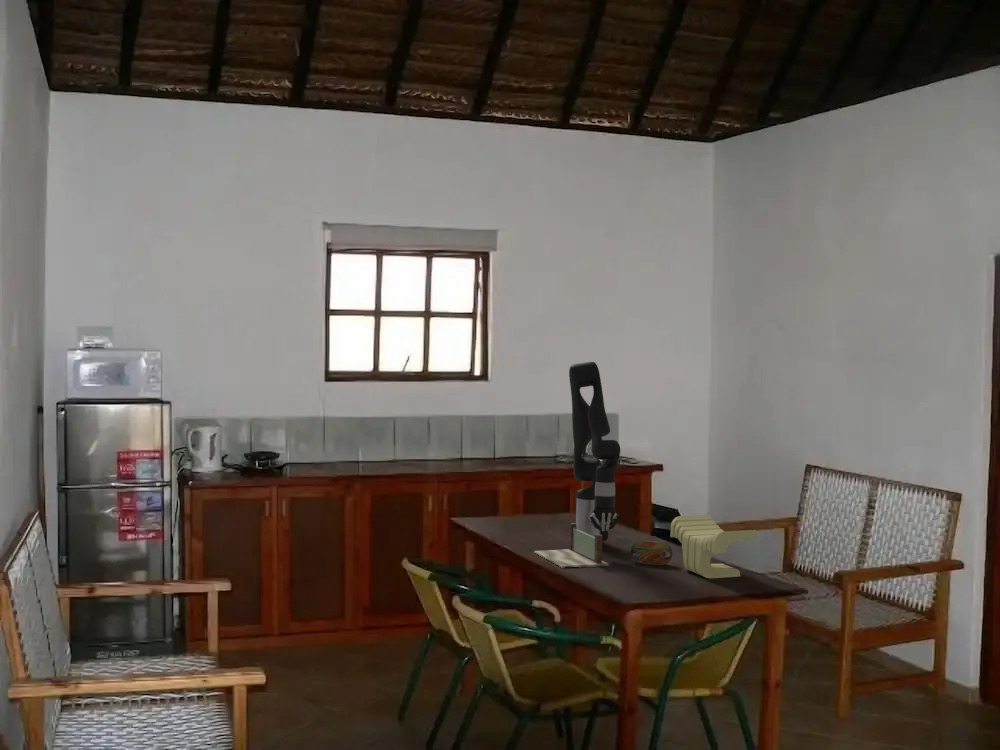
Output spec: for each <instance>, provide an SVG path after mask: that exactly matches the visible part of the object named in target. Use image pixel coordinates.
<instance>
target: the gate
mask: <svg viewBox="0 0 1000 750" xmlns="http://www.w3.org/2000/svg"><path fill="white" fill-rule="evenodd" d="M573 550H574V551H576V552H578V553H580V554H582V555H584V556H586V557H588V558H590V559H592V560H594V552H595V537H594V536H592V535H589V534H587V533H585V532H583V531H581V530H578V529H577V527H573Z"/></svg>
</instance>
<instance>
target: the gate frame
mask: <svg viewBox="0 0 1000 750" xmlns="http://www.w3.org/2000/svg"><path fill="white" fill-rule="evenodd" d="M573 527H576V522H569V527H568V528H569V529H568V530H569V531H568V532H569V533H568V548H567V549H565V548H564V549H548V550H547V549H545V550H534V551H533V553H534V554H535V553H536V554H535V555H537V554H538V555H539V556H538V555H537V556H538V557H540V556H541V558H542V557H543V558H542V559H544V558H545V559H544V560H546V559H547V560H549V561H550V562H549V561H548V562H549V563H551V562H552V563H551V564H553V563H554V564H553V565H555V564H556V565H558V566H559V567H558V566H557V567H558V568H560V567H561V569H566V568H565V567H579V568H592V567H593V568H595V567H608V566H609V563H608V562H606V561H604V560H603V559H602V558H603V541H602V535H600V534H598V535H595V552H594V560H592V559H590V558H588V557H586V556H584V555H582V554H580V553H578V552H576V551H574V550H573ZM547 560H546V561H547ZM556 565H555V566H556Z"/></svg>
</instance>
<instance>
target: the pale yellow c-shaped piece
mask: <svg viewBox="0 0 1000 750" xmlns="http://www.w3.org/2000/svg"><path fill="white" fill-rule="evenodd" d="M669 532H670V538H676V539H678V541H679V542H680V543H681V550H682V558H683V567H684V569H686V570H687V571H689V572H692V573H694V574H696V575H700V576H701V577H703V578H706V579H719V578H721V579H723V578H735V577H737V578H738V577H741V572H740V570H739V569H737V568H734V567H732V566H728V565H726V564H725V563H711V558H712V557H713V554H714V555H720V554H721V555H724V554H726V553H727V550H728V547H729V546H730V545H731V544H733V543H738V542H741V543H742V541H747V540H752V539H756V538H757V529H745V530H724V529H721V527H720V526H719V525H718V524H717V522H716V521H715V520H714V519H713V518H712V516H711V515H710V514H700V515H699V514H697V515H679V516H676V517H674V518H673V520H672V521H671V523H670V531H669Z"/></svg>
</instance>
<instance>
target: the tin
mask: <svg viewBox="0 0 1000 750" xmlns="http://www.w3.org/2000/svg"><path fill="white" fill-rule="evenodd" d="M630 556H631V558H632V560H633V561H634V562H635V563H637V564H639V563H642V564H641V565H650V564H652V565H653V566H665V565H667V564H668V563H670V562H671V560H672V558H673V549H672V547H671V546H670V545H669V544H668V543H667V542H664V541H654V540H653V541H651V540H638V541H636V542H634V543H633V544H632V546H631V549H630Z"/></svg>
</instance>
